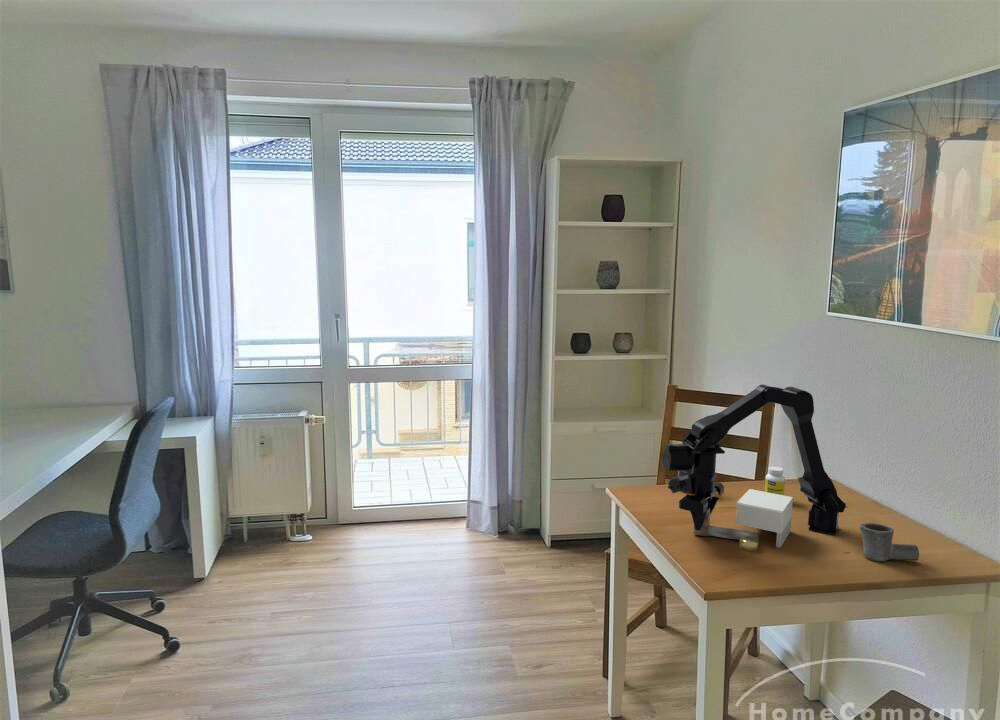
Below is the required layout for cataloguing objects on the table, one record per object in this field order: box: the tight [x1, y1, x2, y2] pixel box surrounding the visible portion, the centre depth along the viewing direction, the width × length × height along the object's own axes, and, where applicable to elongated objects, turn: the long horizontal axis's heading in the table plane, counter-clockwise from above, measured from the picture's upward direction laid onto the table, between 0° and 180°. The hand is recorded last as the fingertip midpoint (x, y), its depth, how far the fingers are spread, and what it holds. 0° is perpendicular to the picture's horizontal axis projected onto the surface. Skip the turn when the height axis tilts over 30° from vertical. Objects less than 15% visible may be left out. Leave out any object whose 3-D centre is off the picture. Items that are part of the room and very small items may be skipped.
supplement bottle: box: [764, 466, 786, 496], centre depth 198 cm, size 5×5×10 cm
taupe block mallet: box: [693, 509, 759, 541], centre depth 169 cm, size 16×4×6 cm, turn 66°
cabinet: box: [735, 488, 794, 549], centre depth 172 cm, size 11×13×10 cm
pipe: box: [859, 522, 920, 562], centre depth 158 cm, size 6×13×8 cm, turn 78°
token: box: [738, 537, 759, 552], centre depth 164 cm, size 4×4×2 cm
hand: (700, 527), depth 172 cm, fingers closed on taupe block mallet, 4 cm apart
